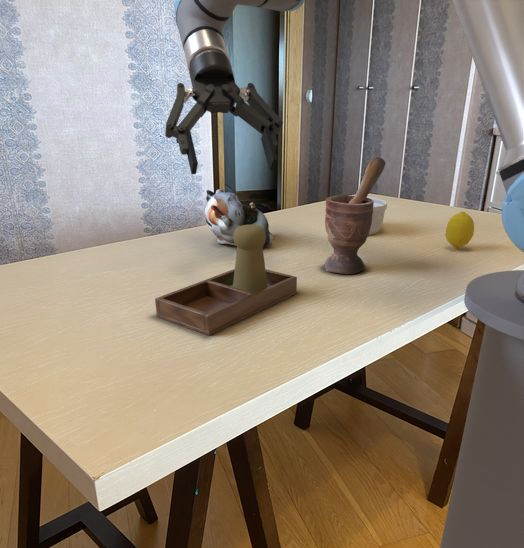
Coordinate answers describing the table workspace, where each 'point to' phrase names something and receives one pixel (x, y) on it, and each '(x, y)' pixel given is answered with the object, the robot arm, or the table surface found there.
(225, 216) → the lucky cat figurine
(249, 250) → the olive pepper mill
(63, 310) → the table surface
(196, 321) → the divided wooden tray
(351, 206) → the mortar and pestle
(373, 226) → the ramekin
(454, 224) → the lemon
